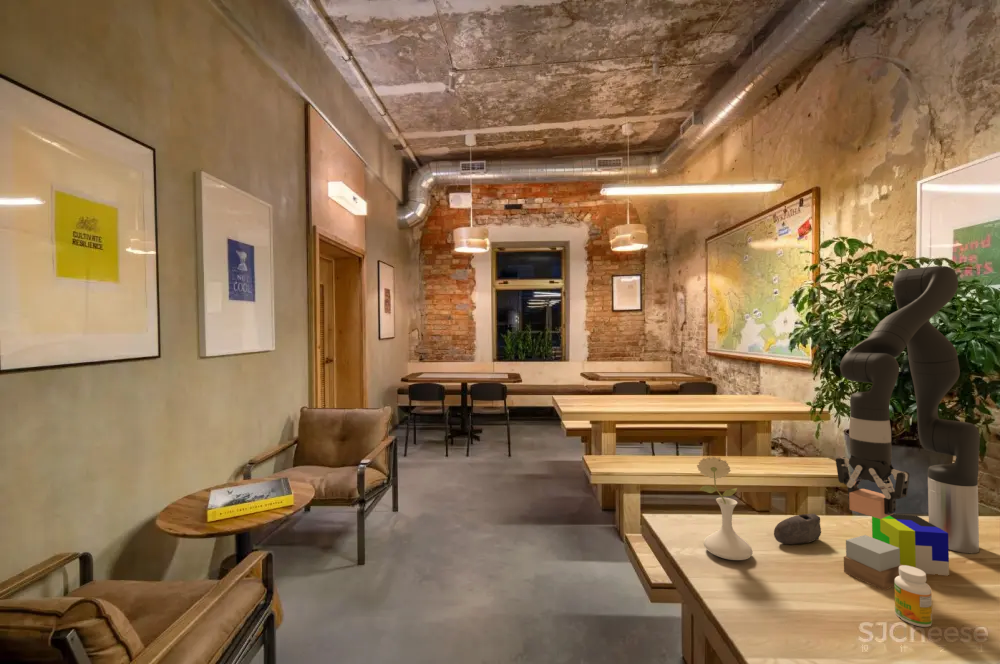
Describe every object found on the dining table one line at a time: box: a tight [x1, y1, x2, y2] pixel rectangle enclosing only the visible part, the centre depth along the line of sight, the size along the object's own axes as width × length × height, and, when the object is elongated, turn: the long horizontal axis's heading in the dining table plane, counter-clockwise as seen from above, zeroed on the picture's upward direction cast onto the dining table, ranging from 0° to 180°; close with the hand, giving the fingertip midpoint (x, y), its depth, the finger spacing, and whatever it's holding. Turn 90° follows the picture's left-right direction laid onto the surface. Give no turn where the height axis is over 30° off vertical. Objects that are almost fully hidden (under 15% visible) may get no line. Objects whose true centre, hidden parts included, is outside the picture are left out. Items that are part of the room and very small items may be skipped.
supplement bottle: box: [894, 565, 933, 628], centre depth 87 cm, size 5×5×10 cm
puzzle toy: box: [871, 513, 950, 576], centre depth 107 cm, size 10×10×10 cm
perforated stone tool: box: [773, 513, 822, 545], centre depth 119 cm, size 15×5×7 cm, turn 102°
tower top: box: [845, 534, 900, 572], centre depth 101 cm, size 7×7×4 cm
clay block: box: [848, 488, 895, 519], centre depth 102 cm, size 6×6×4 cm
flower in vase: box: [696, 455, 754, 561], centre depth 114 cm, size 13×11×25 cm
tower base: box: [843, 555, 902, 591], centre depth 101 cm, size 8×8×4 cm
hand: (871, 508), depth 102 cm, fingers closed on clay block, 6 cm apart
